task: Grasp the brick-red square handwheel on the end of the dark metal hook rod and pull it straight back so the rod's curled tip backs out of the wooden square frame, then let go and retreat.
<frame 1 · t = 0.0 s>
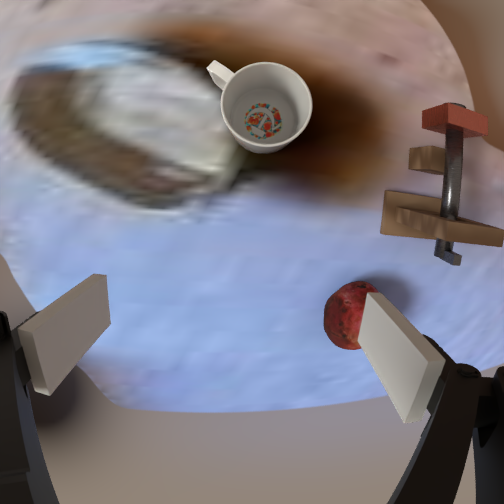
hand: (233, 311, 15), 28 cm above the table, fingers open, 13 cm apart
hook rod: (452, 181, 33), point 8 cm above the table, slide at 0.0 cm
fruit: (347, 304, 45), on the table
saddle block: (423, 161, 40), on the table
wooden square frame: (418, 216, 42), on the table
mug: (254, 114, 39), on the table
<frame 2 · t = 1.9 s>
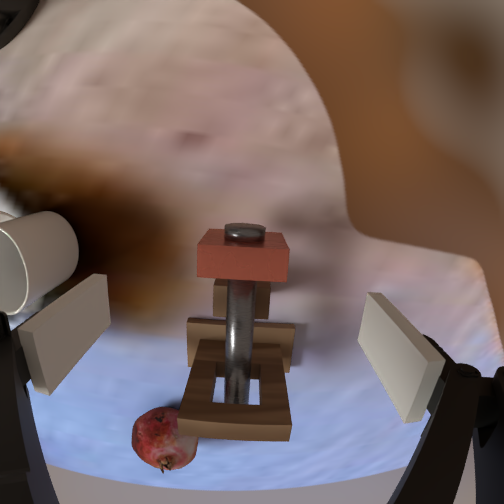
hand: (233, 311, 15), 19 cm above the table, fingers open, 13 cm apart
hook rod: (239, 337, 28), point 8 cm above the table, slide at 0.0 cm
fruit: (171, 419, 40), on the table
saddle block: (243, 279, 35), on the table
wooden square frame: (239, 344, 37), on the table
mug: (47, 237, 34), on the table
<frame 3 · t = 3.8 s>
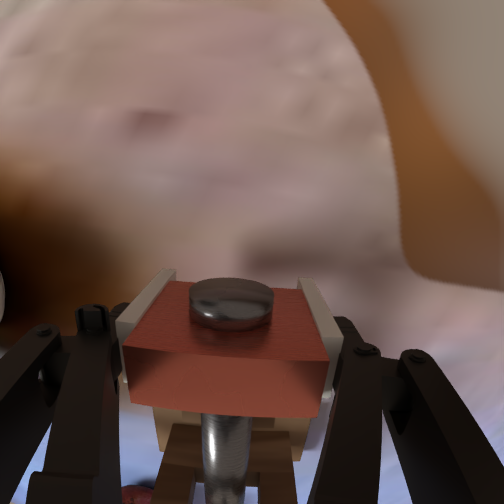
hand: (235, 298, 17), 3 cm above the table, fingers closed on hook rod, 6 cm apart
hook rod: (225, 459, 14), point 8 cm above the table, slide at 0.0 cm, touching gripper
fruit: (146, 494, 27), on the table
saddle block: (234, 346, 22), on the table
wooden square frame: (231, 427, 23), on the table
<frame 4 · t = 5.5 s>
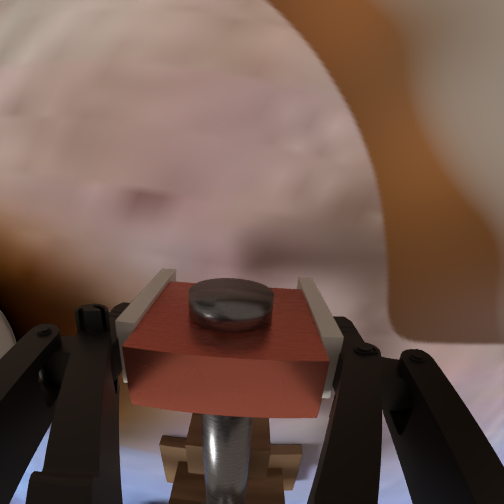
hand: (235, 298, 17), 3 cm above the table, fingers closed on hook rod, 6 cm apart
hook rod: (226, 459, 14), point 8 cm above the table, slide at 5.0 cm, touching gripper
saddle block: (232, 401, 23), on the table
wooden square frame: (230, 463, 25), on the table
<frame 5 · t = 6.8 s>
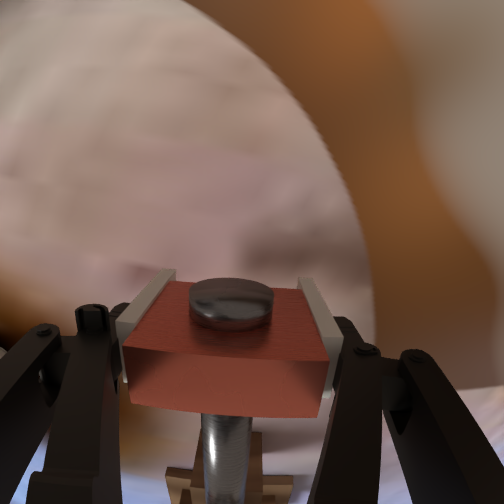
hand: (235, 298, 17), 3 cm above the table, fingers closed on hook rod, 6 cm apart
hook rod: (225, 459, 14), point 8 cm above the table, slide at 9.9 cm, touching gripper
saddle block: (230, 442, 24), on the table
wooden square frame: (228, 489, 26), on the table
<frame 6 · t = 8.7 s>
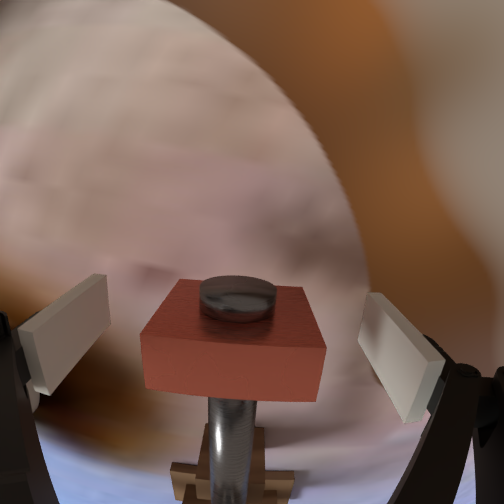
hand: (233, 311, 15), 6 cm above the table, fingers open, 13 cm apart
hook rod: (230, 448, 15), point 8 cm above the table, slide at 10.0 cm
saddle block: (234, 437, 25), on the table
wooden square frame: (231, 484, 27), on the table
mug: (3, 360, 24), on the table
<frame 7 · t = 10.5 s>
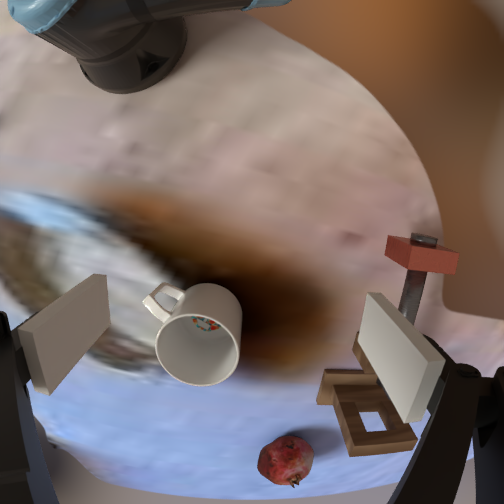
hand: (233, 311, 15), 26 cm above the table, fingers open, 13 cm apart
hook rod: (406, 317, 34), point 8 cm above the table, slide at 10.0 cm
fruit: (284, 444, 48), on the table
saddle block: (370, 341, 44), on the table
wooden square frame: (356, 385, 45), on the table
mug: (201, 303, 43), on the table
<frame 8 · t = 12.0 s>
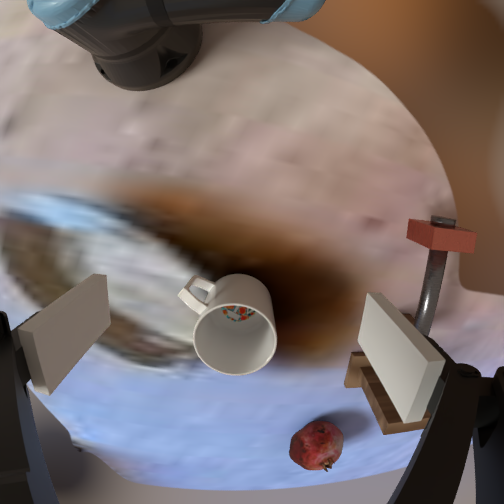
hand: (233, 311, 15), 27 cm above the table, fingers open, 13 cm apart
hook rod: (430, 296, 35), point 8 cm above the table, slide at 10.0 cm
fruit: (313, 430, 50), on the table
wooden square frame: (382, 367, 46), on the table
mug: (230, 294, 44), on the table
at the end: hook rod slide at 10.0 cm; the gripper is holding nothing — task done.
